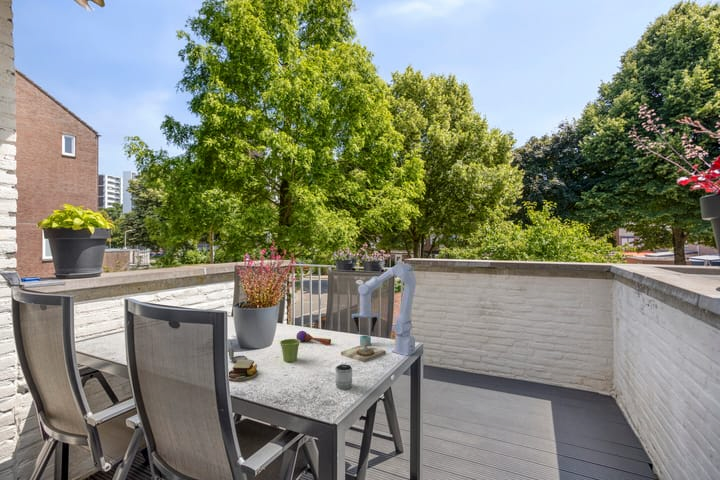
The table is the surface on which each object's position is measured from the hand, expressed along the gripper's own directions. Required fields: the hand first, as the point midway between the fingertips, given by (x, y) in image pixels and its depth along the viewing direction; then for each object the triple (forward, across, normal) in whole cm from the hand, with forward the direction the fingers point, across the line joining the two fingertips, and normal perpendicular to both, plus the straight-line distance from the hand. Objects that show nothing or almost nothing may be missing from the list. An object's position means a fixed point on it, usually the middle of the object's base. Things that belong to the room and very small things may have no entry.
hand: (365, 331), depth 185 cm
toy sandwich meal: (+8, +54, +40) cm, 68 cm away
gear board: (+7, +2, +16) cm, 18 cm away
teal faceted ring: (+7, 0, 0) cm, 7 cm away
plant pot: (+7, +37, +23) cm, 44 cm away
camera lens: (+7, +12, +53) cm, 55 cm away
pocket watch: (+7, +61, +22) cm, 66 cm away
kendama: (+8, +28, -4) cm, 29 cm away
